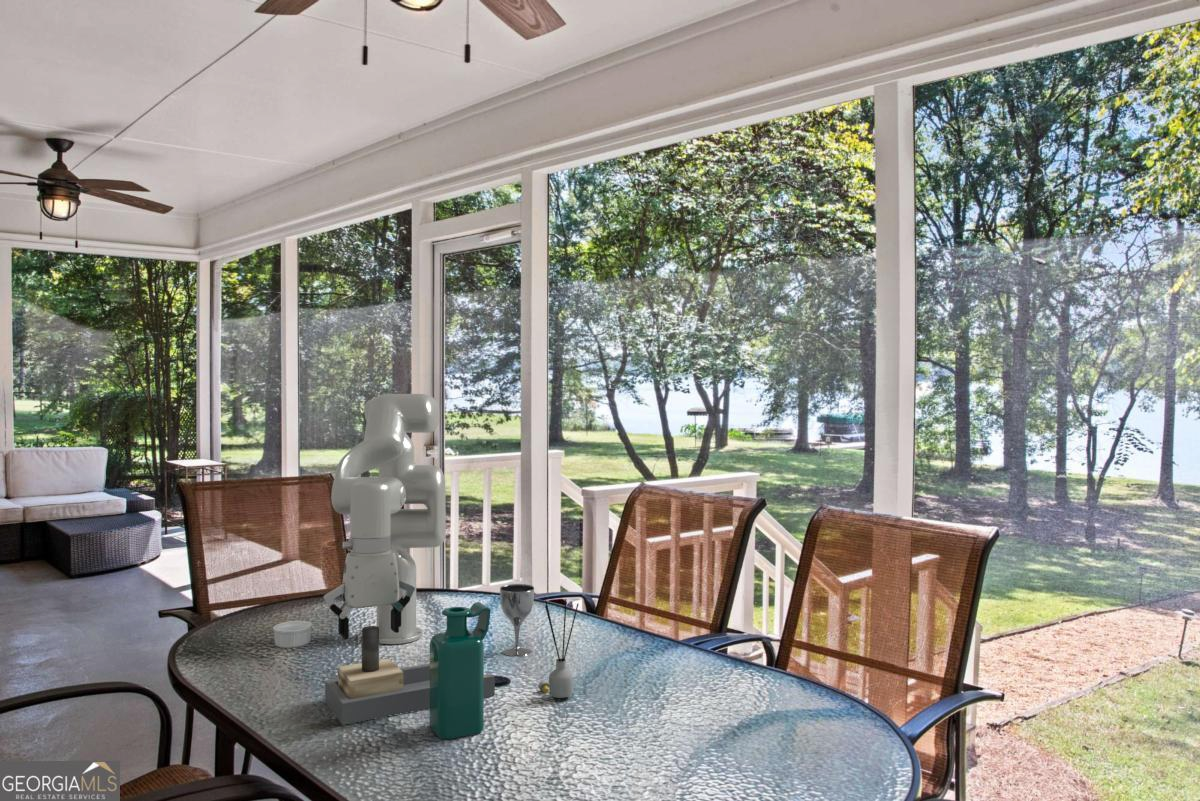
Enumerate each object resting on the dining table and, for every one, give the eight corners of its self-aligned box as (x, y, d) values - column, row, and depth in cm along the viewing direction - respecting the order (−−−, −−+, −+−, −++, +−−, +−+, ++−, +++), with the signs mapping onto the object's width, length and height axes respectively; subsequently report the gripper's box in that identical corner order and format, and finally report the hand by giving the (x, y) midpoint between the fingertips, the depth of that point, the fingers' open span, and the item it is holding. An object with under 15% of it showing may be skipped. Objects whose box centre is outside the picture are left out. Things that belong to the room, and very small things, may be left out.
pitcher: (440, 742, 148) (440, 616, 148) (426, 725, 156) (427, 605, 155) (493, 732, 153) (494, 609, 152) (478, 716, 160) (478, 599, 160)
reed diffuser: (586, 698, 169) (586, 598, 169) (565, 709, 164) (565, 605, 163) (546, 687, 175) (546, 591, 175) (524, 697, 170) (524, 597, 169)
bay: (325, 701, 167) (325, 679, 167) (468, 675, 183) (468, 656, 182) (342, 725, 155) (342, 702, 155) (494, 696, 170) (494, 675, 170)
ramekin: (304, 649, 201) (304, 631, 201) (266, 648, 201) (266, 630, 201) (317, 638, 210) (317, 620, 210) (281, 637, 210) (281, 620, 210)
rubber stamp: (338, 697, 166) (338, 625, 166) (388, 688, 172) (388, 618, 171) (350, 713, 158) (350, 638, 158) (403, 703, 163) (403, 630, 163)
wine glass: (536, 647, 203) (536, 584, 203) (530, 657, 195) (530, 592, 195) (503, 646, 204) (503, 583, 203) (496, 656, 196) (496, 591, 196)
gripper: (329, 552, 157) (328, 645, 157) (420, 544, 165) (419, 633, 165) (319, 546, 163) (319, 636, 163) (408, 539, 172) (407, 624, 172)
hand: (370, 634), depth 164 cm, fingers open, 9 cm apart
